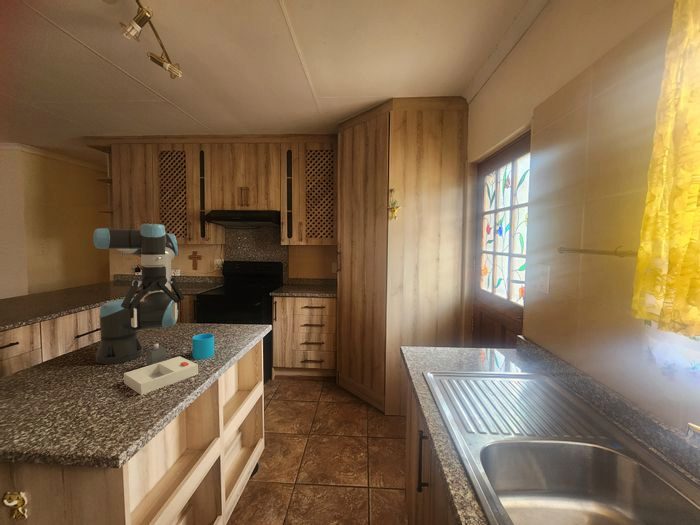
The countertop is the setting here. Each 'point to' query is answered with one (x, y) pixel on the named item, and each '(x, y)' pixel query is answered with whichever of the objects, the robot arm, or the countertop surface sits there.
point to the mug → (203, 346)
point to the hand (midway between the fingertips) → (155, 322)
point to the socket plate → (160, 374)
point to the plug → (155, 355)
